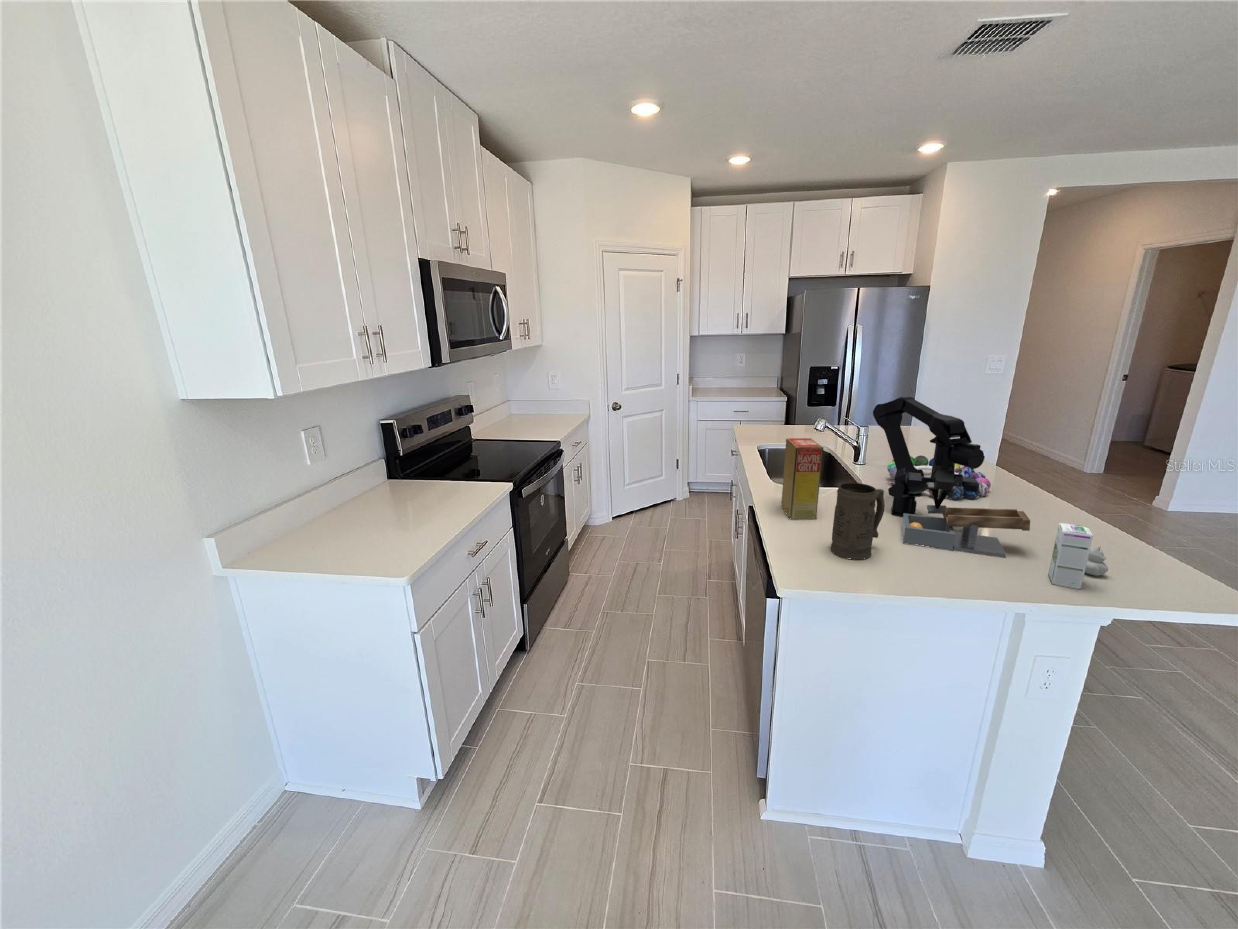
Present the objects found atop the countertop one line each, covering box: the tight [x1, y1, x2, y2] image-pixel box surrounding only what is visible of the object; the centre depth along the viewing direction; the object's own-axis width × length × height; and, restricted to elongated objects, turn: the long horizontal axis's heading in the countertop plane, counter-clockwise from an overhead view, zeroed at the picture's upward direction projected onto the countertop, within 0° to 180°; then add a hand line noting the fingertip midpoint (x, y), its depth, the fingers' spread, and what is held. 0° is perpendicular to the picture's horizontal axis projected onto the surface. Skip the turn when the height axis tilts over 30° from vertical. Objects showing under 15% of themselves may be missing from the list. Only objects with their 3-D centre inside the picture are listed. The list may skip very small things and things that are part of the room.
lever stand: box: [953, 524, 1007, 559], centre depth 145 cm, size 12×12×8 cm
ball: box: [909, 522, 923, 529], centre depth 152 cm, size 4×4×4 cm
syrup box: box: [1047, 522, 1094, 590], centre depth 124 cm, size 6×6×14 cm
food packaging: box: [780, 437, 824, 520], centre depth 171 cm, size 13×9×25 cm
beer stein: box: [830, 482, 885, 560], centre depth 143 cm, size 15×11×20 cm
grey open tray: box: [900, 513, 956, 551], centre depth 151 cm, size 12×12×5 cm
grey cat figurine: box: [1085, 545, 1109, 577], centre depth 128 cm, size 5×7×8 cm
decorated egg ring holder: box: [886, 455, 992, 501], centre depth 196 cm, size 35×35×9 cm
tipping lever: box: [926, 504, 1031, 532], centre depth 148 cm, size 23×16×4 cm
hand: (936, 507), depth 157 cm, fingers closed, pressing on tipping lever
